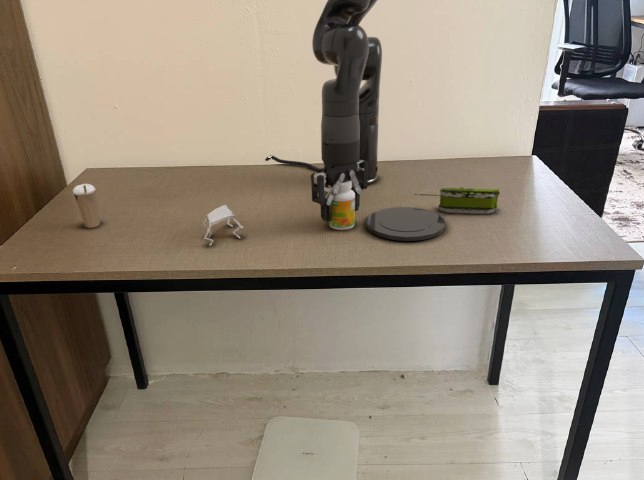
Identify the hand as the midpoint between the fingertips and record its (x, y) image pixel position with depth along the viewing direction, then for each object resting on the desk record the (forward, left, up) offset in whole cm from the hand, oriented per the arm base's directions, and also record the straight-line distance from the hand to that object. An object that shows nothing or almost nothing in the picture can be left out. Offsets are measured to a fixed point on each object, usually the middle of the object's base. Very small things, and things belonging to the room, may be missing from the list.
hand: (340, 215), depth 119 cm
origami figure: (-14, -20, -3) cm, 24 cm away
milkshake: (-39, -38, -3) cm, 54 cm away
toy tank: (+11, +24, -3) cm, 27 cm away
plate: (+10, +9, -2) cm, 14 cm away
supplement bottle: (0, 0, -3) cm, 3 cm away
